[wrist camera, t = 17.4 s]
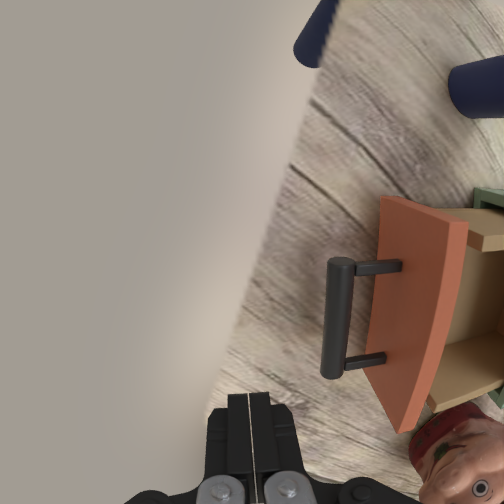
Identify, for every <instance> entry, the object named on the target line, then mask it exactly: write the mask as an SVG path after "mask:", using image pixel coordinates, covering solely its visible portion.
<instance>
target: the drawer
mask: <svg viewBox="0 0 504 504" xmlns="http://www.w3.org/2000/svg"><path fill="white" fill-rule="evenodd" d="M354 275H355V276H367V275H376V276H375V286H374V294H373V303H372V311H371V318H370V325H369V332H368V338H367V344H366V350H365V355H359V356H353V357H347V358H346V352H347V344H348V336H349V328H350V319H351V309H352V299H353V288H354ZM360 368H362V369H363V371H364V373H365V374H366V376H367V378H368V380H369V382H370V384H371V385H372V387H373V389H374V391H375V393H376V395H377V397H378V399H379V401H380V402H381V404H382V406H383V408H384V410H385V412H386V414H387V416H388V418H389V420H390V422H391V423H392V425H393V427H394V429H395V431H396V433H397V434H400V433H403V432H407V431H410V430H413V429H414V427H415V425H416V423H417V421H418V418H419V416H420V414H421V411H422V409H423V406H424V404H425V401H426V403H427V404H428V406H429V407H430V409H431V411H432V412H433V413H437V412H440V411H443V410H446V409H448V408H451V407H454V406H456V405H459V404H461V403H464V402H467V401H469V400H471V399H474V398H476V397H479V396H481V395H483V394H485V393H488V392H490V391H492V390H494V389H496V388H499V387H501V386H503V385H504V209H475V208H431V207H428V206H425V205H422V204H419V203H416V202H413V201H411V200H408V199H405V198H402V197H399V196H381V197H380V223H379V240H378V253H377V260H373V261H360V262H355V261H354V260H353V259H351V258H347V257H333V258H330V259H329V260H328V261H327V279H326V299H325V316H324V331H323V344H322V356H321V367H320V373H321V375H322V376H323V377H324V378H326V379H330V380H334V379H338V378H340V377H341V376H342V375H343V373H344V370H345V371H349V370H355V369H360Z"/></svg>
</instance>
